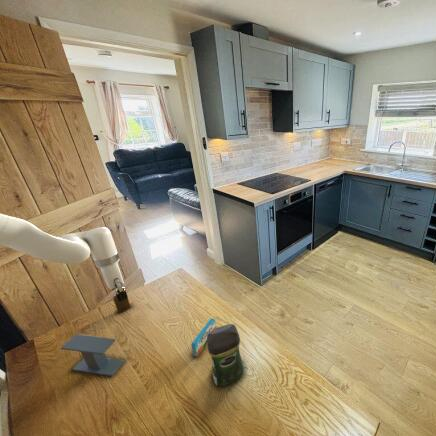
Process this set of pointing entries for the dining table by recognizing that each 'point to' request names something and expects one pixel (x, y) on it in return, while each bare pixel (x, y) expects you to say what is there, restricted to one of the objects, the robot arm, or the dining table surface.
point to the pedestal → (93, 354)
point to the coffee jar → (225, 354)
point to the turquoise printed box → (202, 337)
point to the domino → (121, 304)
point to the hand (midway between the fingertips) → (119, 293)
